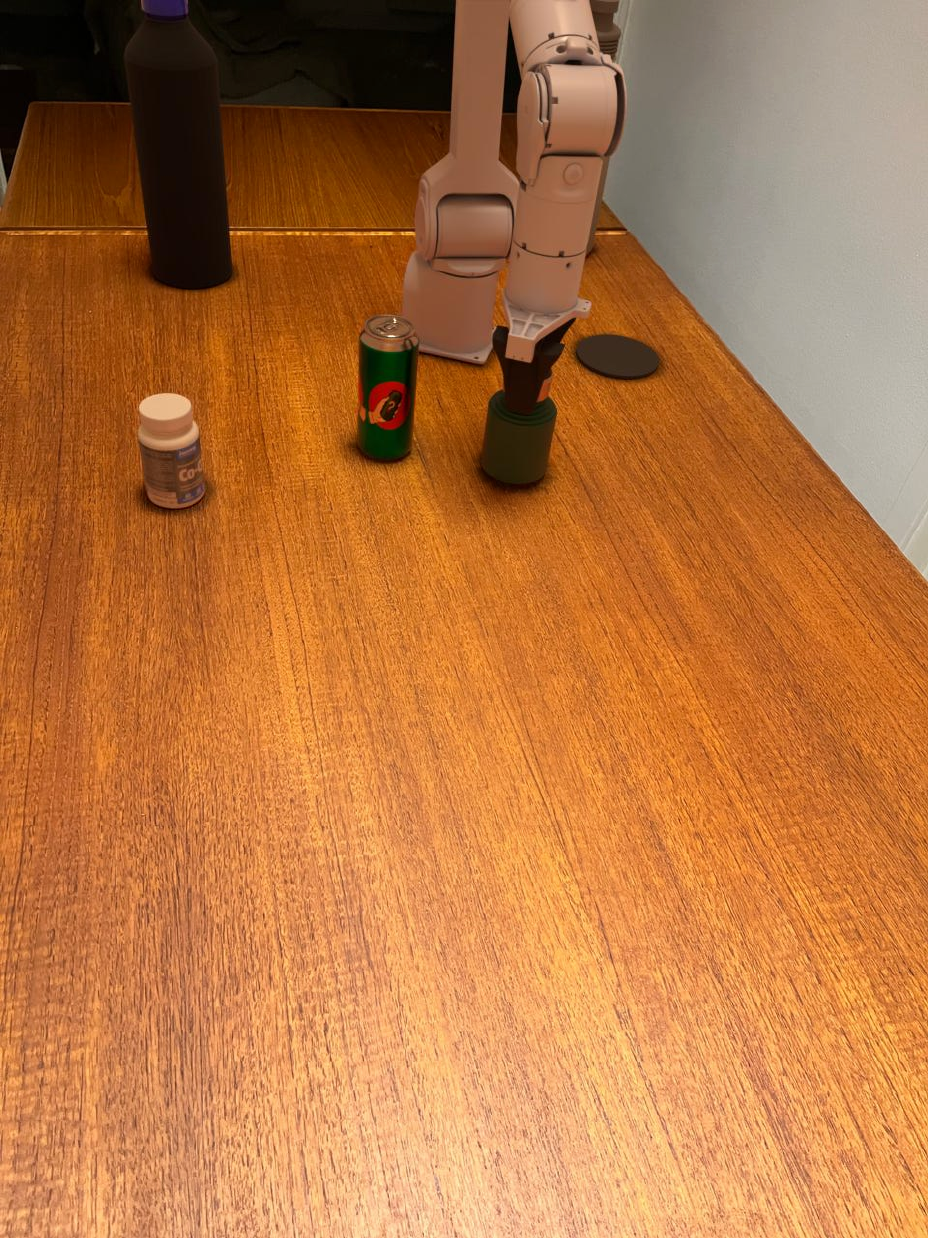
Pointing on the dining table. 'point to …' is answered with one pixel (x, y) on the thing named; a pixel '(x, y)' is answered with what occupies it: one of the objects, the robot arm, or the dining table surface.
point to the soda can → (387, 386)
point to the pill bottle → (170, 451)
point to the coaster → (617, 356)
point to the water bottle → (608, 34)
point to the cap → (545, 386)
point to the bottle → (179, 147)
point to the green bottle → (517, 441)
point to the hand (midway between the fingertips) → (525, 397)
